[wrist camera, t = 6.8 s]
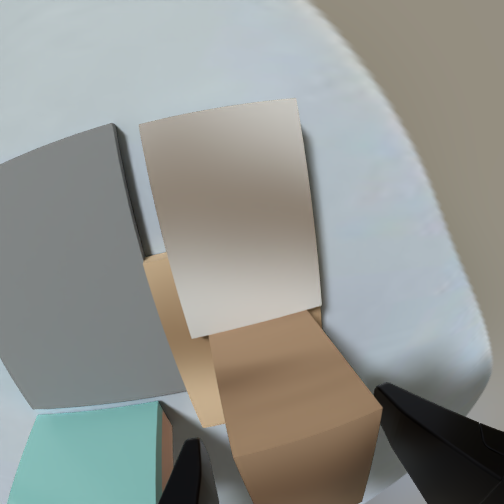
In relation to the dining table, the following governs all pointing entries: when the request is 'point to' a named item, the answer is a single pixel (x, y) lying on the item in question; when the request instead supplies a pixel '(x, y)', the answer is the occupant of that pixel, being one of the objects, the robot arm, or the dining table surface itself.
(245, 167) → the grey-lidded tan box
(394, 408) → the robot arm
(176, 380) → the plate
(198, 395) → the rest
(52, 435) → the tile
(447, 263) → the dining table surface
